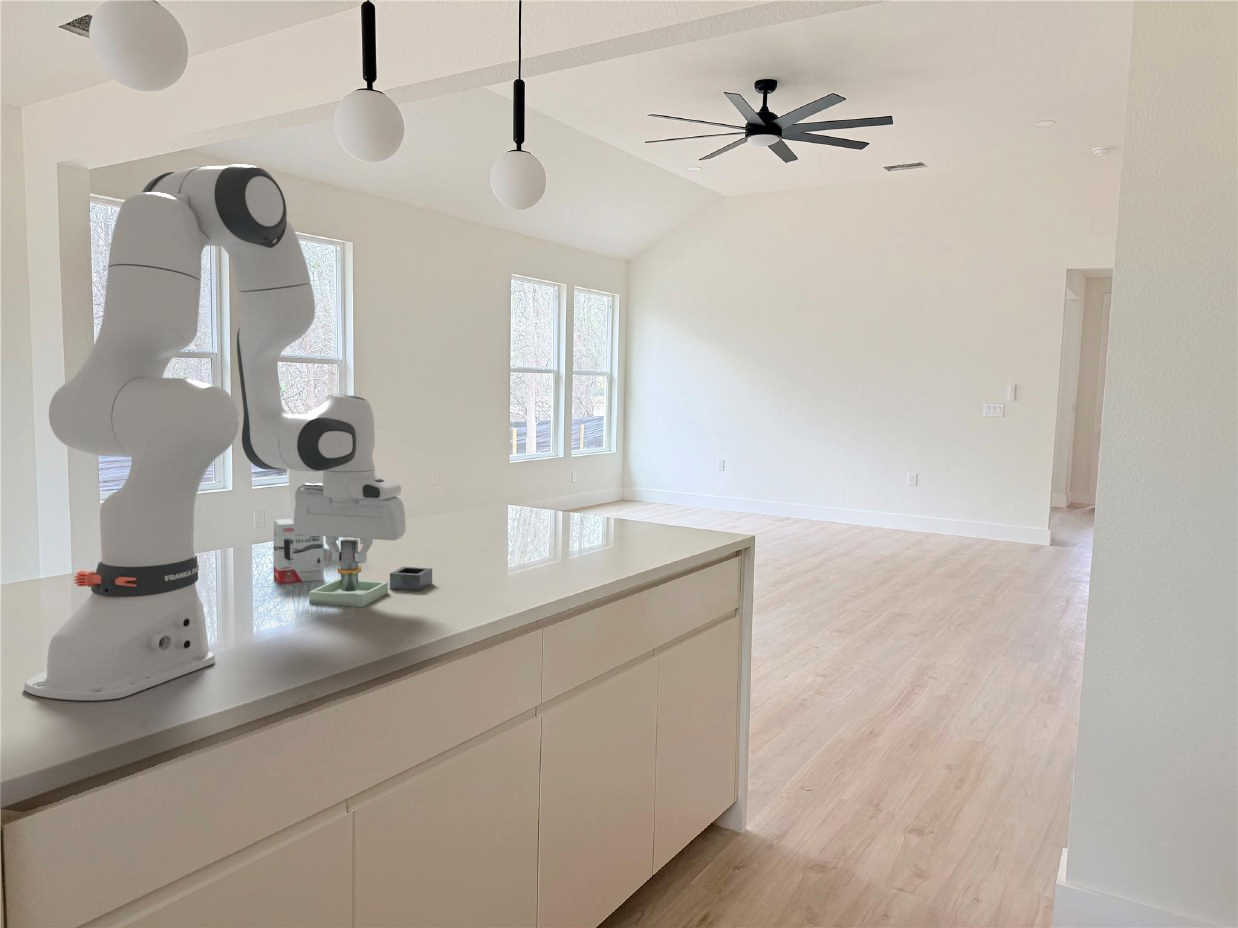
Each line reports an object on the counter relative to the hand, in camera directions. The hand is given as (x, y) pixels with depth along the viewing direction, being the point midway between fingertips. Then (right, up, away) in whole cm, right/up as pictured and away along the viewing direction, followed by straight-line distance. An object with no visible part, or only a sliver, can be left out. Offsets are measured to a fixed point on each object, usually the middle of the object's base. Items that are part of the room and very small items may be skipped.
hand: (349, 561), depth 148 cm
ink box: (-14, -5, +13) cm, 20 cm away
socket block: (+9, -6, +10) cm, 15 cm away
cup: (-23, -2, +44) cm, 50 cm away
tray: (0, -7, +1) cm, 7 cm away
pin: (0, -5, +1) cm, 5 cm away
